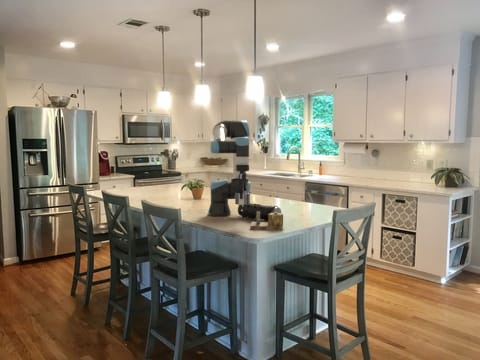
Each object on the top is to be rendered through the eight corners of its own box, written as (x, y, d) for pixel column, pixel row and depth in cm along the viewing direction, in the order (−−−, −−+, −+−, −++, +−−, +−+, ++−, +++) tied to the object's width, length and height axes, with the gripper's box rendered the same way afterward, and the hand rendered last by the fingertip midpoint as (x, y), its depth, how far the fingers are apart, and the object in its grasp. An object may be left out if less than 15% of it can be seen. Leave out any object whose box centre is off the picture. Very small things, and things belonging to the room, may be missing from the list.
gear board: (250, 229, 221) (250, 213, 220) (252, 225, 232) (252, 210, 231) (282, 230, 219) (283, 214, 218) (283, 225, 230) (283, 210, 229)
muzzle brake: (246, 216, 259) (246, 200, 258) (282, 221, 242) (282, 205, 241) (237, 218, 252) (237, 202, 251) (273, 224, 234) (273, 207, 233)
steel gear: (234, 204, 223) (234, 194, 223) (236, 202, 232) (236, 192, 231) (248, 205, 222) (248, 194, 222) (250, 202, 230) (250, 192, 230)
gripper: (246, 165, 214) (246, 206, 216) (251, 163, 234) (251, 200, 237) (232, 165, 215) (233, 206, 217) (239, 163, 236) (239, 200, 238)
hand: (242, 203), depth 227 cm, fingers closed on steel gear, 8 cm apart
